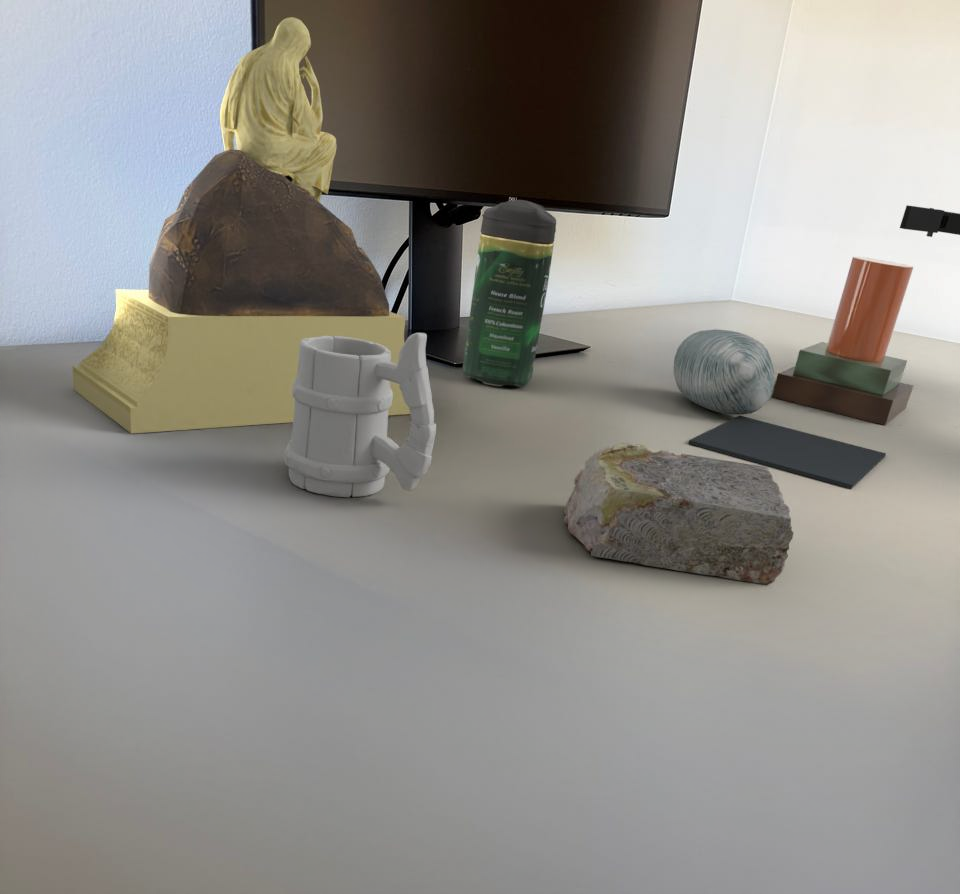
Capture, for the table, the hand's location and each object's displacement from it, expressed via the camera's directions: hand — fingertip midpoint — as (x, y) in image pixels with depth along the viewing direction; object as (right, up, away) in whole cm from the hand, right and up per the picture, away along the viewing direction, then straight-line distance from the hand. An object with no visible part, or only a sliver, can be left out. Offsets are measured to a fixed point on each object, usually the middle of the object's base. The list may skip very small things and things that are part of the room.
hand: (949, 225), depth 118 cm
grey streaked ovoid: (-26, -22, -8) cm, 35 cm away
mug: (-66, -40, -47) cm, 90 cm away
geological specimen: (-44, -44, -49) cm, 79 cm away
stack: (-11, -20, +5) cm, 24 cm away
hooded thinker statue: (-77, -29, -30) cm, 88 cm away
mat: (-26, -31, -20) cm, 45 cm away
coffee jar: (-55, -21, -8) cm, 60 cm away
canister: (-11, -15, +3) cm, 19 cm away
